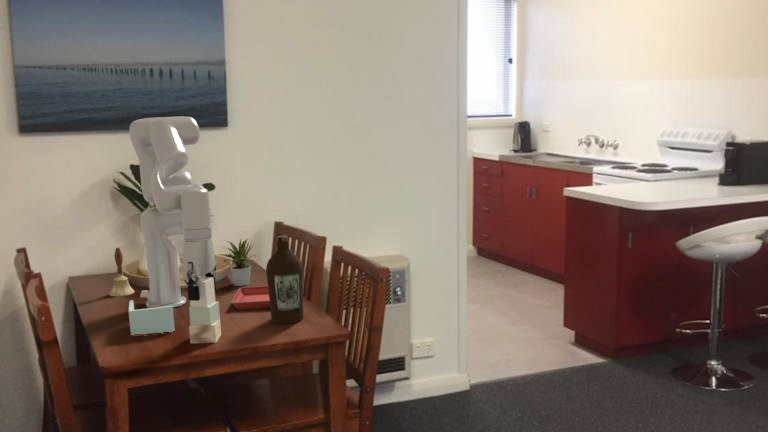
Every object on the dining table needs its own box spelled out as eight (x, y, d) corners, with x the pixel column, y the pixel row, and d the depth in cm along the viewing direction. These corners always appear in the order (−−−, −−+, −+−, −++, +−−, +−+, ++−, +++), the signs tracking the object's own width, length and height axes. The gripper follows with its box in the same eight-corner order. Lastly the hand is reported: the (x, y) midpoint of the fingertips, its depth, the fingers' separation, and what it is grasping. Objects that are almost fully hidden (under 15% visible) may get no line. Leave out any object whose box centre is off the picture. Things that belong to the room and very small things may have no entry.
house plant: (228, 278, 289) (225, 233, 287) (266, 277, 288) (263, 233, 285) (215, 288, 276) (211, 242, 273) (254, 288, 274) (251, 241, 271)
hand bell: (139, 291, 275) (135, 246, 273) (120, 297, 269) (115, 251, 266) (123, 289, 280) (119, 244, 277) (103, 295, 273) (99, 249, 270)
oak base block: (190, 343, 219) (188, 326, 218) (196, 335, 225) (195, 318, 225) (216, 343, 218) (214, 325, 218) (221, 334, 225) (220, 317, 225)
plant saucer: (231, 312, 248) (230, 301, 247) (240, 296, 266) (239, 286, 265) (289, 309, 248) (288, 299, 248) (295, 294, 266) (294, 284, 265)
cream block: (190, 306, 218) (188, 281, 217) (198, 301, 223) (196, 277, 222) (207, 307, 217) (205, 282, 216) (215, 302, 222) (213, 277, 221)
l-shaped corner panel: (174, 331, 229) (172, 306, 228) (131, 337, 226) (128, 311, 225) (173, 320, 241) (171, 295, 239) (131, 325, 238) (129, 300, 236)
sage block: (190, 324, 219) (189, 307, 218) (199, 318, 225) (198, 301, 224) (210, 325, 218) (209, 307, 217) (219, 318, 224) (218, 301, 223)
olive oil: (267, 316, 240) (261, 234, 236) (302, 312, 243) (297, 231, 239) (272, 326, 230) (266, 241, 226) (308, 322, 233) (303, 238, 229)
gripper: (200, 227, 226) (205, 286, 229) (168, 240, 210) (174, 303, 213) (224, 227, 224) (229, 287, 227) (194, 240, 208) (199, 305, 211)
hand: (202, 295), depth 220 cm, fingers open, 8 cm apart
